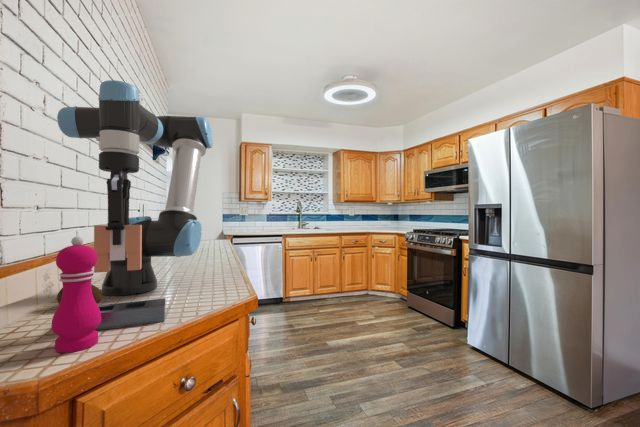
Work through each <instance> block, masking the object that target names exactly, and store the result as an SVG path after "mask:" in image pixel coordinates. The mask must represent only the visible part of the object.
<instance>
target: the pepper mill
mask: <svg viewBox="0 0 640 427" xmlns="http://www.w3.org/2000/svg"><path fill="white" fill-rule="evenodd" d="M70 242H71V245H68V246H65V247H63V248H62V249H61V250H59V252H58V253H57V255H56V258H55V265H56V267H57V268H58V269H59V270H60V271H61V273H59V277H60V279H59V282H61V283H62V288H63V293H62V298H61V301H60V304H59V303H58V306H57V308H56V310H55V312H54V314H53V316H52V320H51V327H50V328H51V332H52V333H53V334H55V335H56V336H57V337H56V339H54V351H55V352H57V353H61V354H65V353H67V354H68V353H69V354H70V353H75V352H80V351H83V350H86V349H89V348H91V347H93V346H96V344H98V342H99V332H98V330H96V331H95V329H96V328H97V327H98V325H99V324H100V323H101V312H100V309H99V307H98V304H97V303H96V301H95V299H94V297H93V294H92V289H91V284H92V281H93V280H92V279H94V278H95V275H94V265H95V264H96V263H97V253H96V251H95V250H94V247H91V246H90V245H86V244H85V245H84V239H83V238H82V237H81V236H74V237H73V238H71V241H70Z"/></svg>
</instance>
